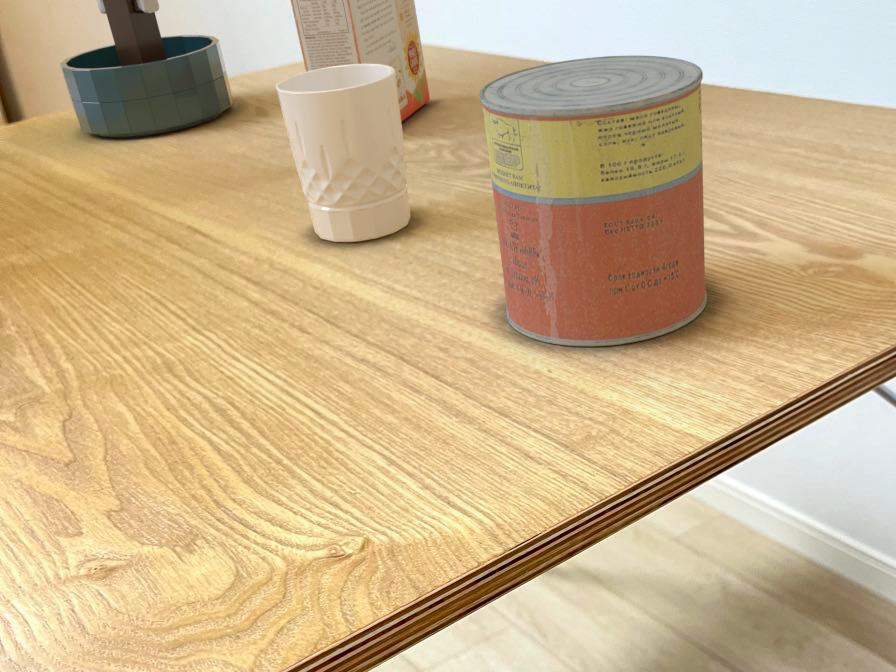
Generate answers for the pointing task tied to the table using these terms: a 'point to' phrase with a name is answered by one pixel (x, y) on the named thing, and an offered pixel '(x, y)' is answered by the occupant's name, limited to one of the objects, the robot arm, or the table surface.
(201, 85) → the bowl
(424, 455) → the table surface
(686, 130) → the canned food
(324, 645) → the table surface
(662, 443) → the table surface
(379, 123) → the white cup
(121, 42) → the stick
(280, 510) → the table surface
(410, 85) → the cracker box
